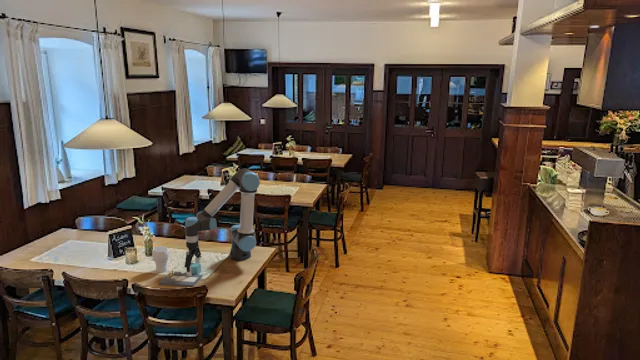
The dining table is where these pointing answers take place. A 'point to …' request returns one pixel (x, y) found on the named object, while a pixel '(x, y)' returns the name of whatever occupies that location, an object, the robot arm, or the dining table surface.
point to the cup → (161, 258)
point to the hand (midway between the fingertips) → (193, 271)
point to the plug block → (195, 268)
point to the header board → (180, 279)
